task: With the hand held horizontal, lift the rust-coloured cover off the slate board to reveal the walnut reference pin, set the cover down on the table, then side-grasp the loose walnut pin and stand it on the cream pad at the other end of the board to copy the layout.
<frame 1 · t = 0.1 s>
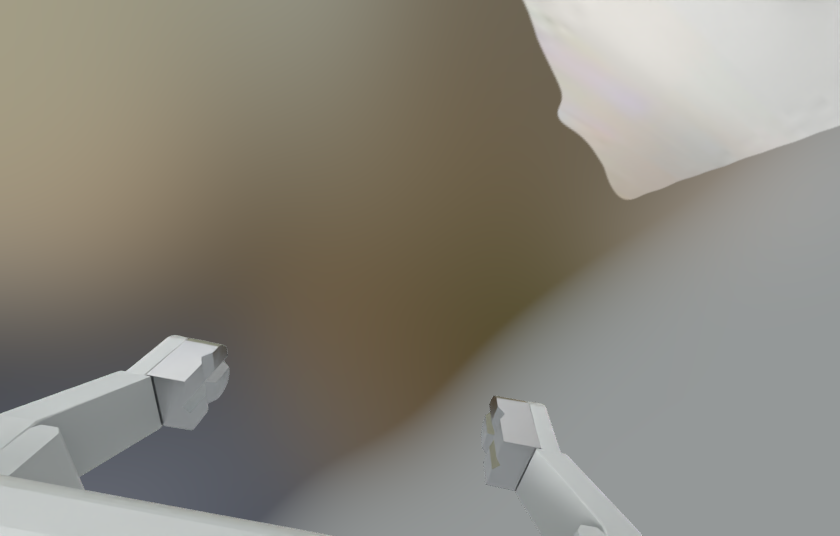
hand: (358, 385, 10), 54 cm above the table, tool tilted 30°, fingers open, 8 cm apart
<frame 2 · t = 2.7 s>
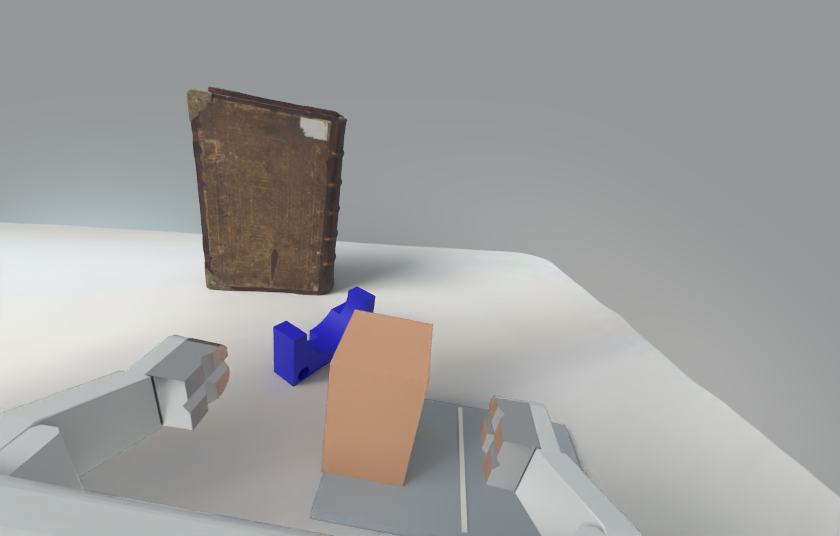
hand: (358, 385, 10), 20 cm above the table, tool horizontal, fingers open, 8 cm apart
cable clip: (322, 350, 41), on the table
book: (275, 286, 51), on the table
board: (459, 467, 30), on the table
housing: (370, 442, 29), point 1 cm above the table, touching board
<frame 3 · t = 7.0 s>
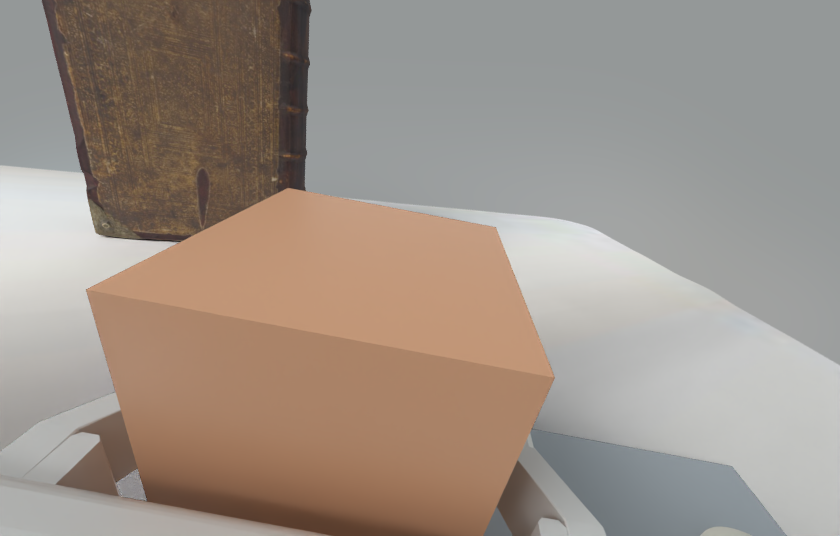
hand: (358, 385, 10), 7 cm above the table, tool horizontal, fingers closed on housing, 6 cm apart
book: (213, 238, 33), on the table
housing: (337, 528, 12), point 1 cm above the table, touching board, gripper
when the fingers open (7 cm above the table, at t = 11.7 s): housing drops 1 cm, on the table.
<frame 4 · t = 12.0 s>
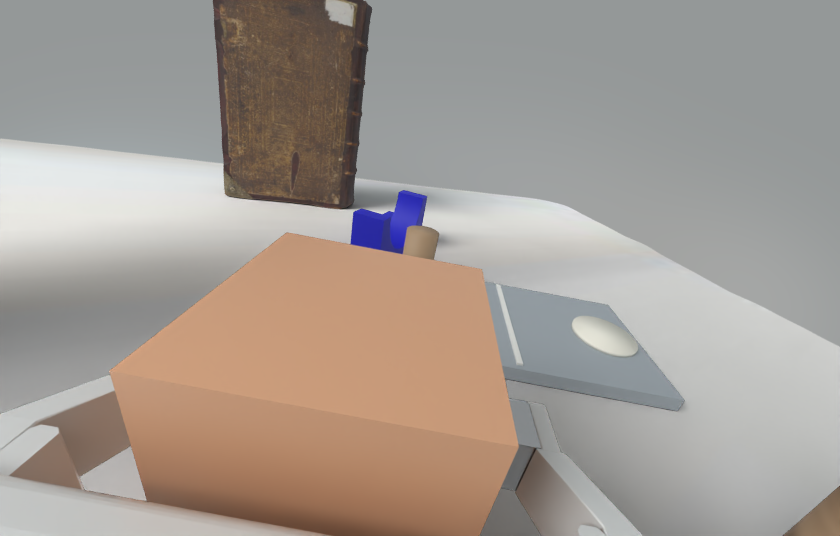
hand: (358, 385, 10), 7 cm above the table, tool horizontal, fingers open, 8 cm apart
cable clip: (381, 255, 38), on the table
book: (294, 200, 49), on the table
board: (503, 328, 28), on the table
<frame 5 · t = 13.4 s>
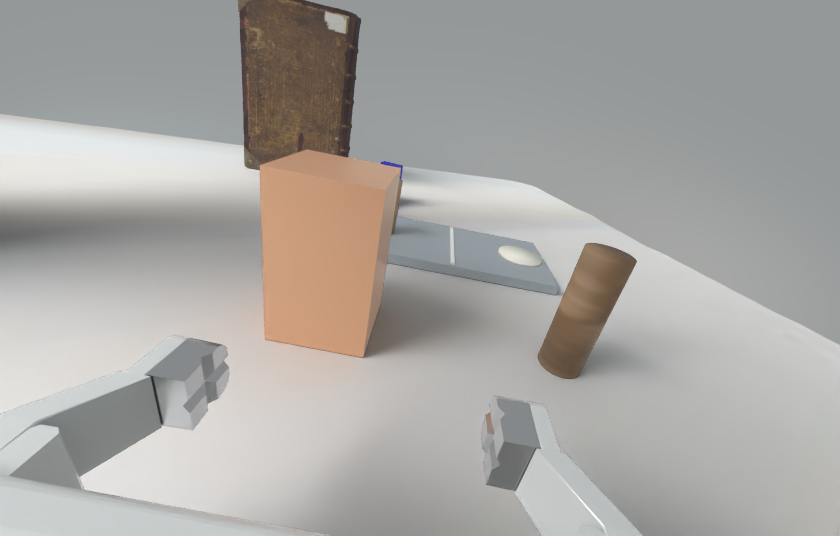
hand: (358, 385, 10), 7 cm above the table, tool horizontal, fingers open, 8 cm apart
book: (299, 173, 61), on the table
board: (450, 251, 40), on the table
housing: (329, 320, 25), on the table
pin: (558, 363, 25), on the table
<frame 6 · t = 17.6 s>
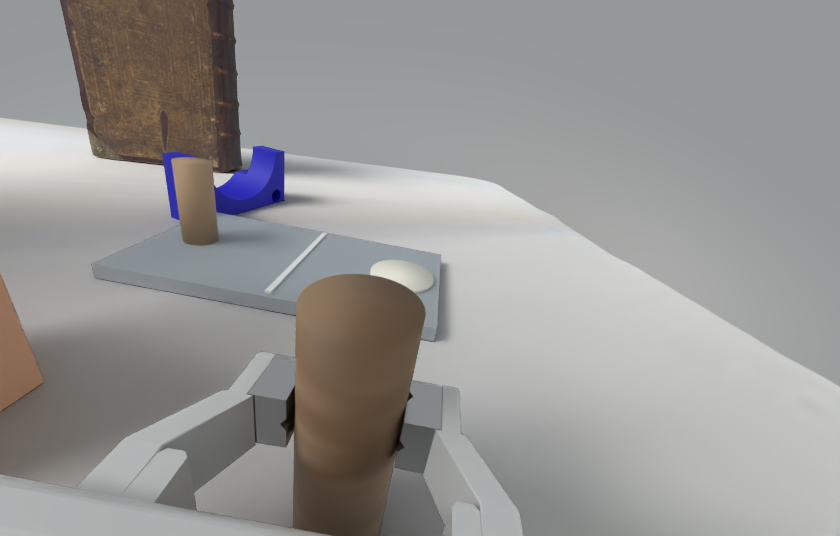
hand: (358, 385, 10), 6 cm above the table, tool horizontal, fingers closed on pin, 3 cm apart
cable clip: (230, 209, 37), on the table
book: (175, 164, 48), on the table
board: (301, 269, 27), on the table
pin: (338, 520, 12), on the table, touching gripper
when the fingers open (8 cm above the table, at t = 22.8 s): pin stays where it is, resting on board.
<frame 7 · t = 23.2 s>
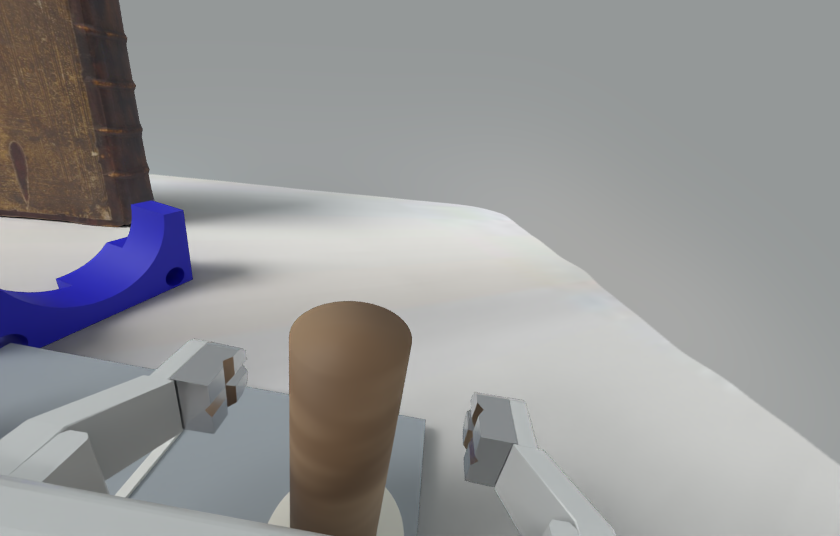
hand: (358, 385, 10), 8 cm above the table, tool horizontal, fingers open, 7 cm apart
cable clip: (87, 310, 23), on the table
book: (53, 215, 34), on the table
board: (125, 516, 13), on the table
pin: (334, 534, 12), point 1 cm above the table, touching board
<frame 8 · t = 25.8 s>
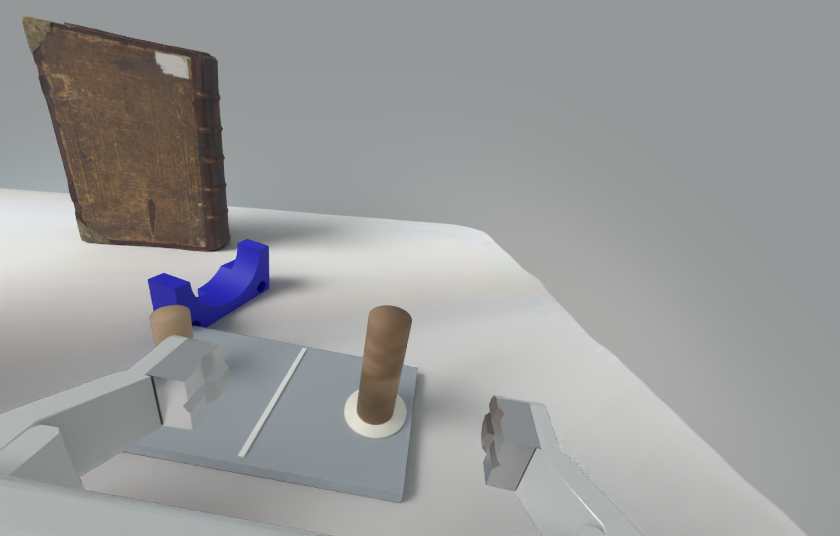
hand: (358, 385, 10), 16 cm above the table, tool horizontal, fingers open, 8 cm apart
cable clip: (215, 308, 38), on the table
book: (163, 243, 49), on the table
board: (278, 402, 28), on the table
pin: (375, 409, 28), point 1 cm above the table, touching board
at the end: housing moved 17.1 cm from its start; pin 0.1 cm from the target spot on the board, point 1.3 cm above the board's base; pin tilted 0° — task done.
